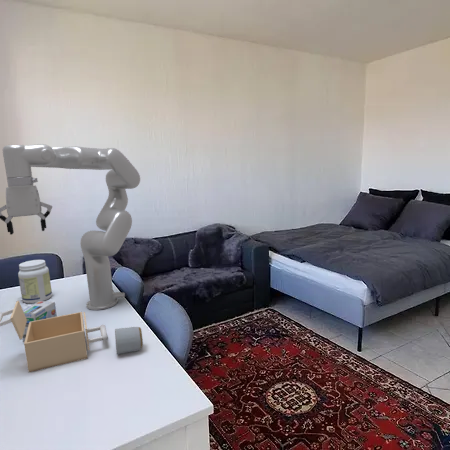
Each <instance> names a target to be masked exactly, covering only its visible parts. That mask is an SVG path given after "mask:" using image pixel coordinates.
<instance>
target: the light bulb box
mask: <svg viewBox="0 0 450 450" xmlns="http://www.w3.org/2000/svg"><path fill="white" fill-rule="evenodd" d="M56 307H57V306H56V302H55V301H47V300H45V301H38V302H37V303H32V304H30V306H28V307H27V308H24V309H23V312H24V314H25V316H26V319H27V322H26V326H25V330H24V333H23V337H22V342H23V343H24V342H25V338H26V334H27V330H28V326H29V322H32V321H37V320H42V319H47V318H52V317H57V316H58V315H57V308H56Z"/></svg>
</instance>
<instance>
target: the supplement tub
mask: <svg viewBox="0 0 450 450" xmlns="http://www.w3.org/2000/svg"><path fill="white" fill-rule="evenodd" d="M18 267H19V268H18V269H19V271H18V273H17V275H18V277H17V278H18V282H19V287H20V294H21V300H22V302H23V303H25V304H35V303H37V302H38V301H47V300H49V299H50V298H52V295H53V290H52V284H51V275H50V270H49V267H48V266H47V263H46V260H44V259H33V260H27V261H25V262H24V261H23V262H21V263H20V264H18Z"/></svg>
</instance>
